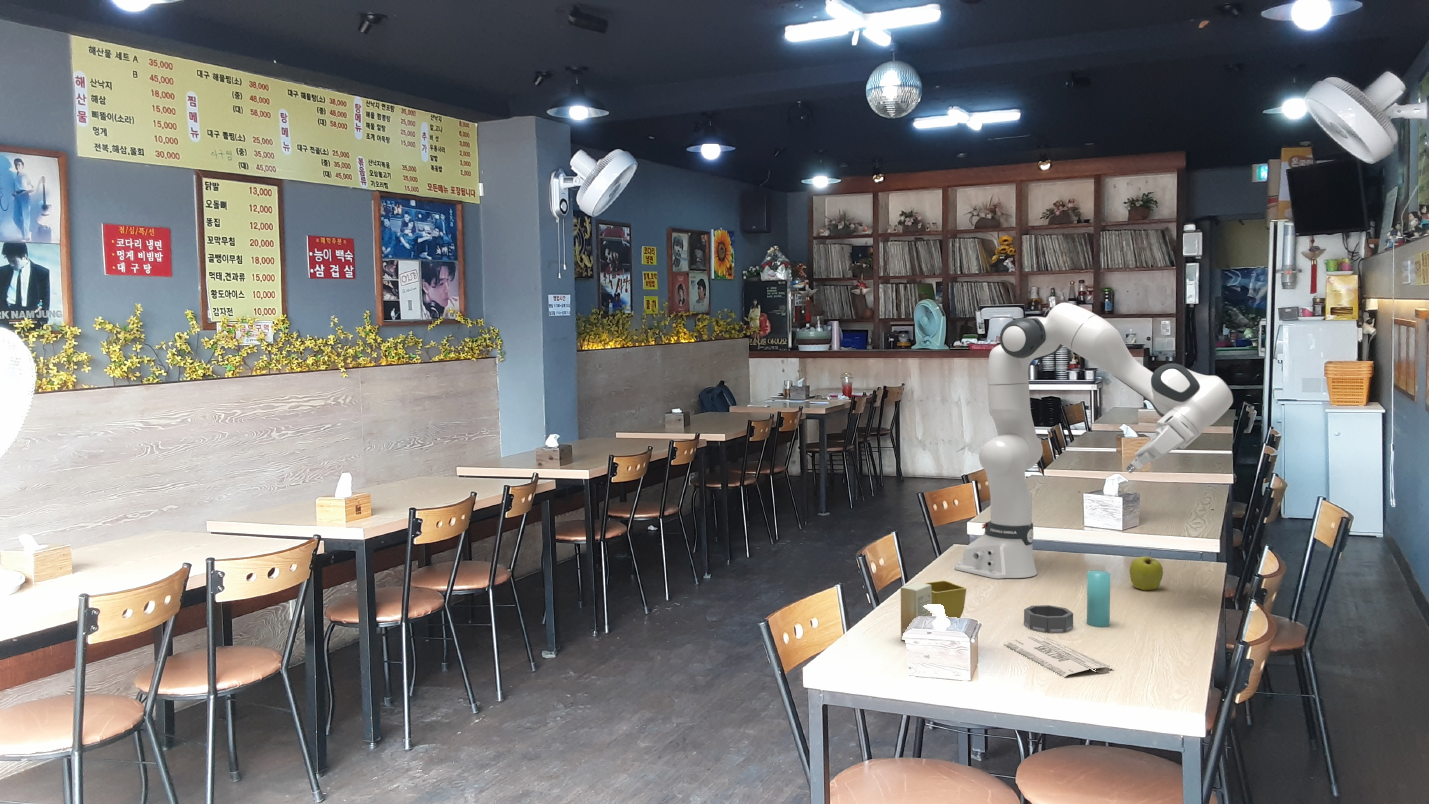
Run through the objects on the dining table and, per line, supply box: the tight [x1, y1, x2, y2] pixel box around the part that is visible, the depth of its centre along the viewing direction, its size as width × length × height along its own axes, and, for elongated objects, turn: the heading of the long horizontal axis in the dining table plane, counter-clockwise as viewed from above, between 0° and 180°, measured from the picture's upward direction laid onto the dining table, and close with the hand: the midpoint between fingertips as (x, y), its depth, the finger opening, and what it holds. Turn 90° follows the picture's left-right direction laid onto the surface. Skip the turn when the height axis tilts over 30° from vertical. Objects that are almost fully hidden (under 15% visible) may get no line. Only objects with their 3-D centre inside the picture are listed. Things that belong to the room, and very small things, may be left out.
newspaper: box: [1003, 634, 1114, 678], centre depth 217 cm, size 23×12×2 cm, turn 16°
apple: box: [1129, 552, 1164, 591], centre depth 271 cm, size 8×8×10 cm
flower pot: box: [923, 580, 967, 619], centre depth 242 cm, size 9×9×9 cm
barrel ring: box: [1023, 604, 1074, 634], centre depth 239 cm, size 10×10×4 cm
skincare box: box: [900, 581, 932, 639], centre depth 230 cm, size 6×4×12 cm
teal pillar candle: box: [1086, 570, 1111, 628], centre depth 240 cm, size 5×5×12 cm
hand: (1131, 469), depth 251 cm, fingers open, 8 cm apart
